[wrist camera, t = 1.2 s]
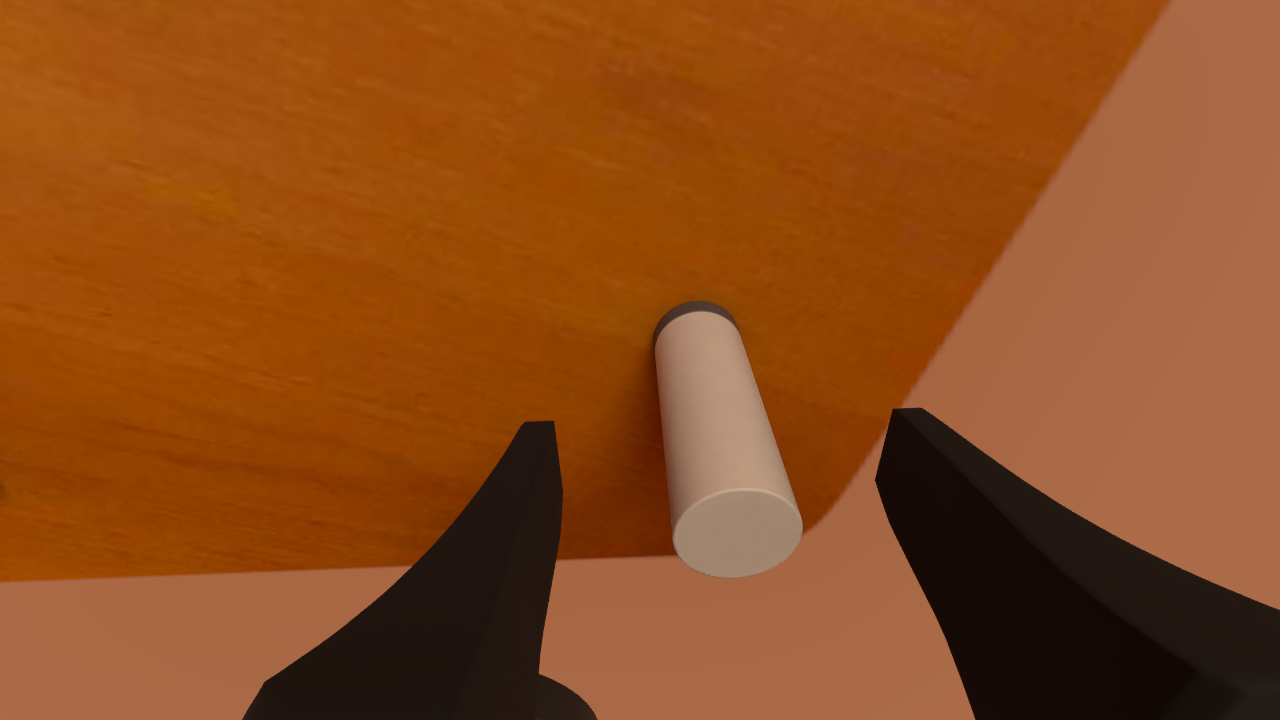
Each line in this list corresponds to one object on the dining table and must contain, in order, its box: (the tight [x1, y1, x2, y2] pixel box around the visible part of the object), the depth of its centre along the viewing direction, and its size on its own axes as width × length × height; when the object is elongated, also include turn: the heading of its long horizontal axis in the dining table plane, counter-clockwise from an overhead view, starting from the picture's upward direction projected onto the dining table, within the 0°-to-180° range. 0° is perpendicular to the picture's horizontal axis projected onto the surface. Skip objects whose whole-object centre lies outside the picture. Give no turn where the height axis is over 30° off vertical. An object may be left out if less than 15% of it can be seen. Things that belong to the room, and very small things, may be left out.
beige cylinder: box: [654, 301, 803, 578], centre depth 14 cm, size 2×2×7 cm
